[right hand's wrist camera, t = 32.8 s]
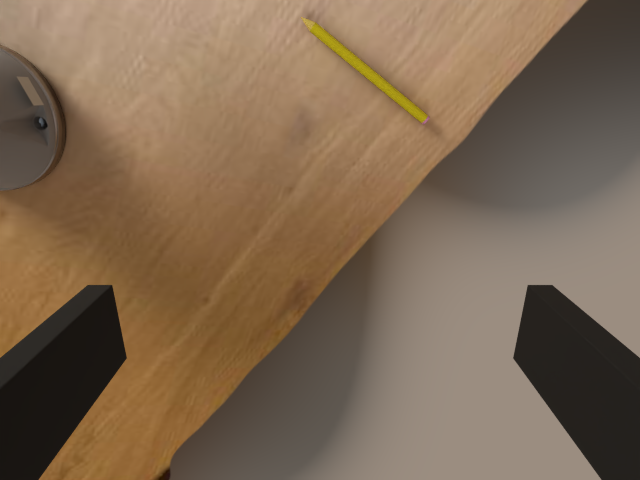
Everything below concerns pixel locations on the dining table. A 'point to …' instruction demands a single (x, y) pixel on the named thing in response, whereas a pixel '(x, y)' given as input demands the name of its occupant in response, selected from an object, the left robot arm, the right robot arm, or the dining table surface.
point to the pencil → (365, 70)
